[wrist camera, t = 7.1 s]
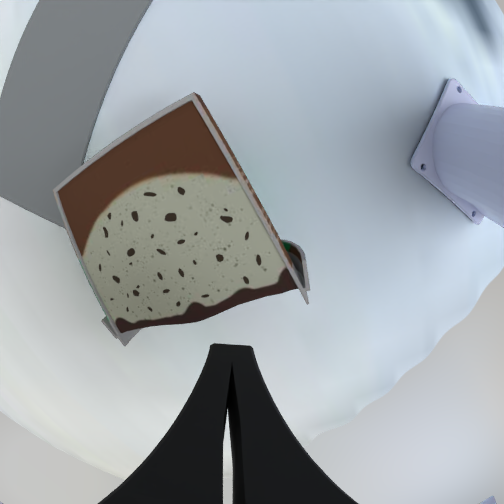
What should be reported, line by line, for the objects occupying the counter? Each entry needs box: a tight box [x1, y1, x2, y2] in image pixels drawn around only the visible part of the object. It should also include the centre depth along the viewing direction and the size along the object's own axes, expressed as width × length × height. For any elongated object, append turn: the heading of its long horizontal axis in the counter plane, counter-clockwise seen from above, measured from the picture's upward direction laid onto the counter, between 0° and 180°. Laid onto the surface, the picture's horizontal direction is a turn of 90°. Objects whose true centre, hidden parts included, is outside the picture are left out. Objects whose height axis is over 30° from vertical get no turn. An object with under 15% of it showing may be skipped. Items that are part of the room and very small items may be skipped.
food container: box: [53, 93, 310, 346], centre depth 15 cm, size 12×6×10 cm
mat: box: [0, 0, 153, 229], centre depth 13 cm, size 10×20×1 cm, turn 154°
